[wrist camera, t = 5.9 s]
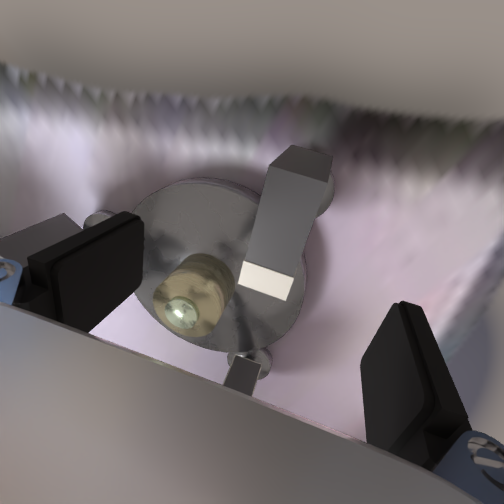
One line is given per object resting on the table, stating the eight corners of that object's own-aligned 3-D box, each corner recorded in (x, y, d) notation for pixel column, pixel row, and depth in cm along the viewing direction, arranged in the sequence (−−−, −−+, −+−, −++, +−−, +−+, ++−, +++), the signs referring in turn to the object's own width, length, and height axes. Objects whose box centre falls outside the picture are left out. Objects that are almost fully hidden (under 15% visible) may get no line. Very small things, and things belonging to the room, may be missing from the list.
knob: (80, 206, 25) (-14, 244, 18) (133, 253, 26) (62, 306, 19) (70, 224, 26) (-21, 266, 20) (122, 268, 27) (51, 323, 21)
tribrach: (249, 379, 31) (228, 440, 26) (82, 234, 28) (18, 268, 23) (433, 278, 21) (466, 343, 15) (201, 31, 18) (136, -1, 12)
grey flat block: (230, 380, 30) (199, 458, 24) (241, 341, 27) (208, 418, 21) (253, 389, 30) (227, 471, 23) (266, 350, 27) (241, 432, 20)
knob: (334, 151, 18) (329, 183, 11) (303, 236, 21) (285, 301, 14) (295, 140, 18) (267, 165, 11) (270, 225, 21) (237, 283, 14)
